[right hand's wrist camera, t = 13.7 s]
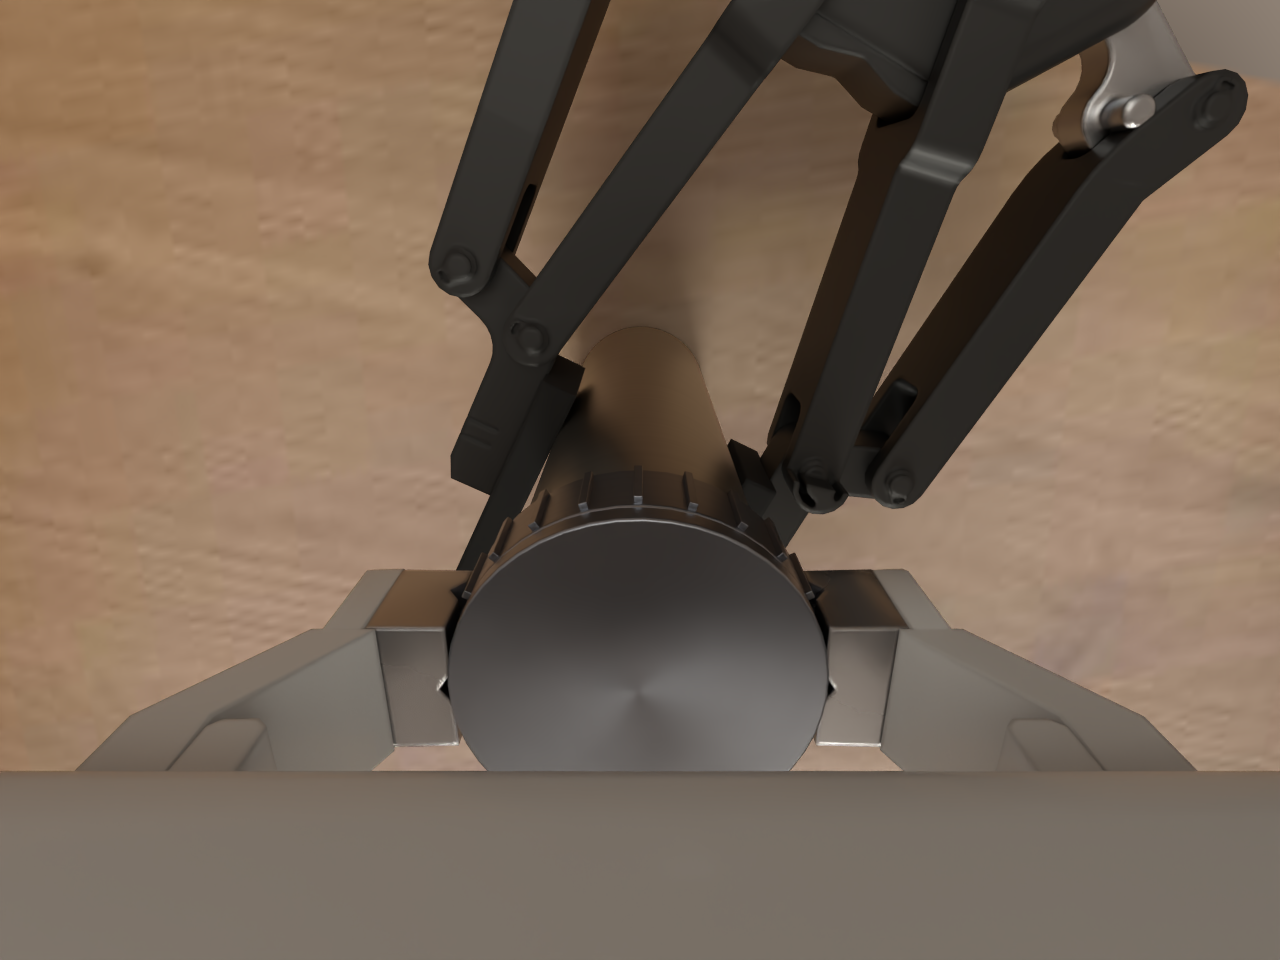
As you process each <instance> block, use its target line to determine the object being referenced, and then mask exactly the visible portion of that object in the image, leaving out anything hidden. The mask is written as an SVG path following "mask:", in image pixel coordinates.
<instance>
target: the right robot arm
mask: <svg viewBox="0 0 1280 960" xmlns="http://www.w3.org/2000/svg"><path fill="white" fill-rule="evenodd" d="M472 573H473V571H455V570H405V569H379V570H368V571H366V573H365V574H364V575H363V576H362V578H361V579H360V580H359V582H358V583H357V584H356V586H355V587H354V588H353V590H352V591H351V592H350V594H349V595H348V596H347V598H346V599H345V600H344V601H343V603H342V604H341V605H340V607H339V608H338V609H337V611H336V612H335V613H334V615H333V616H332V617H331V619H330V620H329V621H328V623H327V624H326V625H325V627H324V628H323V629H311V630H308V631H306V632H304V633H302V634H300V635H298V636H296V637H294V638H292V639H290V640H288V641H285V642H283V643H281V644H279V645H277V646H275V647H273V648H271V649H269V650H267V651H265V652H262V653H260V654H258V655H256V656H254V657H252V658H250V659H248V660H246V661H244V662H242V663H239V664H237V665H235V666H233V667H231V668H229V669H227V670H225V671H223V672H221V673H219V674H216V675H214V676H212V677H210V678H208V679H206V680H204V681H202V682H200V683H198V684H195V685H193V686H191V687H189V688H187V689H185V690H183V691H181V692H179V693H177V694H175V695H172V696H170V697H168V698H166V699H164V700H162V701H160V702H158V703H156V704H154V705H152V706H149V707H147V708H145V709H143V710H141V711H139V712H137V713H135V714H133V715H131V716H129V717H128V718H127V719H126V720H125V721H124V722H123V723H122V724H121V725H120V726H119V727H118V728H117V729H116V730H115V731H114V732H113V733H112V734H111V735H110V736H109V737H108V738H107V739H106V740H105V741H104V742H103V743H102V744H101V745H100V746H99V747H98V748H97V749H96V750H95V751H94V752H93V753H92V754H91V755H90V756H89V757H88V758H87V759H86V760H85V761H84V762H83V763H82V764H81V765H80V766H79V767H78V768H77V769H76V770H75V771H0V960H1280V771H1197V770H1196V769H1195V768H1194V767H1193V766H1192V765H1191V764H1190V763H1189V762H1188V761H1187V760H1186V759H1185V758H1184V757H1183V756H1182V755H1181V754H1180V753H1179V752H1178V751H1177V750H1176V749H1175V748H1174V746H1173V745H1172V744H1171V743H1170V742H1169V741H1168V740H1167V739H1166V738H1165V737H1164V736H1163V735H1162V734H1161V733H1160V732H1159V731H1158V730H1157V729H1156V728H1155V727H1154V726H1153V725H1152V724H1151V723H1150V722H1149V721H1148V720H1147V719H1146V718H1145V717H1144V716H1142V715H1140V714H1137V713H1135V712H1133V711H1131V710H1129V709H1127V708H1125V707H1123V706H1121V705H1119V704H1117V703H1115V702H1113V701H1111V700H1108V699H1106V698H1104V697H1102V696H1100V695H1098V694H1096V693H1094V692H1092V691H1090V690H1088V689H1086V688H1084V687H1082V686H1080V685H1077V684H1075V683H1073V682H1071V681H1069V680H1067V679H1065V678H1063V677H1061V676H1059V675H1057V674H1055V673H1053V672H1051V671H1048V670H1046V669H1044V668H1042V667H1040V666H1038V665H1036V664H1034V663H1032V662H1030V661H1028V660H1026V659H1024V658H1022V657H1020V656H1017V655H1015V654H1013V653H1011V652H1009V651H1007V650H1005V649H1003V648H1001V647H999V646H997V645H995V644H993V643H991V642H988V641H986V640H984V639H982V638H980V637H978V636H976V635H974V634H972V633H970V632H968V631H966V630H964V629H951V628H950V626H949V625H948V624H947V622H946V621H945V620H944V618H943V617H942V616H941V614H940V613H939V612H938V610H937V609H936V608H935V606H934V605H933V604H932V602H931V601H930V600H929V598H928V597H927V596H926V594H925V593H924V592H923V590H922V589H921V588H920V586H919V585H918V584H917V582H916V581H915V579H914V578H913V577H912V575H911V574H910V573H909V571H906V570H904V569H884V570H871V569H869V570H827V571H804V574H805V576H806V578H807V580H808V583H809V585H810V587H811V589H812V592H813V594H814V596H815V598H813V599H810V600H809V602H810V605H811V606H813V607H815V616H816V619H817V621H818V623H819V626H820V628H821V630H822V633H823V637H824V641H825V645H826V649H827V654H828V666H829V683H828V695H827V699H826V703H825V707H824V712H823V716H822V718H821V721H820V723H819V726H818V728H817V730H816V733H815V735H814V740H815V743H816V745H823V746H860V747H880V750H881V751H882V752H883V753H884V754H885V755H886V756H887V757H889V758H890V759H891V760H892V761H893V762H894V763H895V764H896V765H898V766H899V767H900V768H901V769H902V770H903V771H372V770H373V769H374V768H375V767H376V766H377V765H378V764H380V763H381V762H382V761H383V760H384V759H385V758H386V757H387V756H389V755H390V754H391V753H392V752H393V751H394V747H413V746H449V745H459V743H460V740H461V737H462V733H461V731H460V729H459V727H458V725H457V722H456V719H455V716H454V713H453V710H452V707H451V702H450V696H449V690H448V666H447V664H448V658H449V651H450V645H451V641H452V638H453V635H454V632H455V629H456V626H457V623H458V620H459V618H460V611H461V609H462V607H463V605H465V604H466V602H467V599H464V598H462V595H463V592H464V590H465V588H466V586H467V584H468V582H469V579H470V577H471V575H472Z"/></svg>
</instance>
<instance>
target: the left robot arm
mask: <svg viewBox="0 0 1280 960" xmlns="http://www.w3.org/2000/svg"><path fill="white" fill-rule="evenodd" d="M609 3H610V0H513V3H512V6H511V9H510V12H509V15H508V18H507V21H506V24H505V27H504V30H503V33H502V36H501V39H500V42H499V45H498V48H497V51H496V54H495V57H494V60H493V63H492V66H491V69H490V72H489V75H488V78H487V81H486V84H485V87H484V90H483V93H482V96H481V99H480V102H479V105H478V109H477V112H476V115H475V118H474V121H473V124H472V127H471V130H470V133H469V136H468V139H467V142H466V145H465V148H464V151H463V154H462V157H461V160H460V163H459V166H458V169H457V172H456V175H455V178H454V181H453V184H452V187H451V190H450V193H449V196H448V199H447V202H446V205H445V208H444V211H443V214H442V217H441V220H440V223H439V226H438V229H437V232H436V235H435V238H434V241H433V244H432V247H431V250H430V256H429V264H428V265H429V269H430V272H431V276H432V278H433V280H434V281H435V282H436V284H437V285H438V287H439V288H441V289H442V290H443V291H445V292H446V293H448V294H449V295H453V296H457V297H459V298H460V299H461V300H462V301H463V302H464V303H465V304H466V305H467V306H468V307H469V308H470V309H471V310H472V311H473V312H474V313H475V314H476V315H477V316H478V317H479V318H480V319H481V320H482V322H483V323H484V324H485V325H486V327H487V329H488V331H489V333H490V335H491V339H492V343H493V354H492V358H491V361H490V364H489V366H488V369H487V371H486V373H485V376H484V378H483V380H482V383H481V385H480V388H479V390H478V392H477V395H476V397H475V399H474V402H473V404H472V406H471V409H470V411H469V413H468V416H467V418H466V420H465V423H464V425H463V428H462V430H461V433H460V435H459V437H458V439H457V442H456V444H455V446H454V449H453V451H452V453H451V478H452V479H454V480H457V481H459V482H461V483H463V484H466V485H468V486H470V487H473V488H475V489H477V490H479V491H482V492H484V493H486V494H488V495H490V497H489V499H488V501H487V504H486V506H485V508H484V510H483V512H482V515H481V517H480V519H479V521H478V523H477V526H476V528H475V530H474V532H473V534H472V536H471V539H470V541H469V543H468V545H467V547H466V550H465V552H464V554H463V556H462V558H461V560H460V563H459V565H458V567H457V569H456V571H474V568H475V566H476V564H477V562H478V560H479V557H480V555H481V553H482V552H483V553H485V554H487V555H488V553H489V551H490V549H491V547H492V546H493V544H494V543H495V540H496V538H497V536H498V533H499V531H500V529H501V526H502V524H503V522H504V521H505V520H506V518H507V517H509V518H511V519H512V520H514V519H515V517H516V516H517V515H518V514H520V513H521V511H522V509H523V507H524V505H525V503H526V501H527V499H528V496H529V494H530V492H531V490H532V488H533V486H534V484H535V482H536V480H537V478H538V476H539V474H540V471H541V469H542V467H543V465H544V463H545V461H546V459H547V457H548V455H549V453H550V451H551V448H552V446H553V444H554V441H555V439H556V438H557V436H558V434H559V432H560V430H561V428H562V426H563V423H564V421H565V419H566V417H567V415H568V413H569V411H570V409H571V407H572V405H573V403H574V401H575V398H576V396H577V393H578V390H579V387H580V384H581V380H582V377H583V374H584V371H585V368H584V367H582V366H580V365H578V364H576V363H574V362H572V361H570V360H568V359H566V358H564V357H562V356H560V355H559V352H560V350H561V349H562V348H563V346H564V345H565V344H566V342H567V341H568V340H569V338H570V337H571V336H572V334H573V333H574V332H575V330H576V329H577V328H578V326H579V325H580V324H581V322H582V321H583V320H584V318H585V317H586V316H587V314H588V313H589V312H590V310H591V309H592V308H593V306H594V305H595V304H596V302H597V301H598V300H599V298H600V297H601V296H602V294H603V293H604V292H605V290H606V289H607V288H608V286H609V285H610V284H611V282H612V281H613V280H614V278H615V277H616V276H617V274H618V273H619V272H620V270H621V269H622V268H623V266H624V265H625V264H626V262H627V261H628V260H629V258H630V257H631V256H632V254H633V253H634V252H635V250H636V249H637V248H638V246H639V245H640V244H641V242H642V241H643V240H644V238H645V237H646V236H647V234H648V233H649V232H650V230H651V229H652V228H653V226H654V225H655V224H656V222H657V221H658V220H659V218H660V217H661V216H662V214H663V213H664V212H665V211H666V209H667V208H668V207H669V205H670V204H671V203H672V201H673V200H674V199H675V197H676V196H677V195H678V193H679V192H680V191H681V189H682V188H683V187H684V185H685V184H686V183H687V181H688V180H689V179H690V177H691V176H692V175H693V173H694V172H695V171H696V169H697V168H698V167H699V165H700V164H701V163H702V161H703V160H704V159H705V157H706V156H707V155H708V153H709V152H710V151H711V149H712V148H713V147H714V145H715V144H716V143H717V141H718V140H719V139H720V137H721V136H722V135H723V133H724V132H725V131H726V129H727V128H728V127H729V125H730V124H731V123H732V121H733V120H734V119H735V117H736V116H737V115H738V113H739V112H740V111H741V109H742V108H743V107H744V105H745V104H746V103H747V101H748V100H749V99H750V97H751V96H752V95H753V93H754V92H755V91H756V89H757V88H758V87H759V85H760V84H761V83H762V82H763V80H764V79H765V78H766V77H767V75H768V74H769V73H770V72H771V71H772V69H773V68H774V67H775V65H776V64H777V63H778V62H779V60H780V59H782V60H784V61H786V62H787V63H789V64H791V65H792V66H794V67H796V68H799V69H803V70H807V71H812V72H816V73H820V74H824V75H828V76H832V77H834V78H836V79H837V80H838V81H839V82H840V83H841V85H842V86H843V87H844V88H845V89H846V90H847V91H848V92H849V93H850V95H851V96H852V97H853V98H854V99H855V100H856V101H857V102H858V104H859V105H860V106H861V107H862V108H864V109H866V110H868V111H869V112H871V113H873V114H872V117H871V120H870V123H869V126H868V129H867V132H866V135H865V138H864V141H863V143H862V147H861V150H860V153H859V159H858V168H859V170H858V176H857V179H856V182H855V185H854V188H853V191H852V194H851V196H850V199H849V202H848V205H847V208H846V211H845V214H844V217H843V220H842V222H841V225H840V228H839V231H838V234H837V237H836V240H835V243H834V245H833V248H832V251H831V254H830V257H829V260H828V263H827V266H826V269H825V271H824V274H823V277H822V280H821V283H820V286H819V289H818V292H817V294H816V297H815V300H814V303H813V306H812V309H811V312H810V315H809V318H808V320H807V323H806V326H805V329H804V332H803V335H802V338H801V341H800V343H799V346H798V349H797V352H796V355H795V358H794V361H793V364H792V367H791V369H790V372H789V375H788V378H787V381H786V384H785V387H784V390H783V392H782V395H781V398H780V401H779V404H778V407H777V410H776V413H775V416H774V418H773V421H772V424H771V427H770V430H769V433H768V438H767V445H768V446H767V448H766V449H765V451H764V453H763V454H762V456H761V458H760V457H759V455H758V453H757V451H755V450H753V449H751V448H749V447H747V446H745V445H743V444H741V443H738V442H736V441H734V440H732V439H731V440H730V442H729V443H728V445H727V447H728V450H729V453H730V455H731V458H732V461H733V464H734V467H735V469H736V472H737V475H738V478H739V481H740V484H741V486H742V489H743V492H744V495H745V498H746V501H747V503H748V506H749V507H750V508H751V509H752V510H753V511H754V512H756V513H757V514H758V515H759V516H760V517H761V518H762V519H763V520H765V519H767V518H768V517H769V518H770V519H771V520H772V521H773V522H774V525H775V527H776V530H777V532H778V534H779V537H780V539H781V542H782V543H783V545H784V547H785V548H786V547H787V545H788V543H789V542H790V540H791V539H792V537H793V536H794V534H795V533H796V531H797V530H798V528H799V526H800V525H801V523H802V522H803V520H804V519H805V517H806V516H807V514H808V513H809V512H810V513H812V514H825V513H829V512H832V511H835V510H836V509H837V508H839V507H840V506H841V505H843V504H844V502H845V501H846V499H847V498H848V496H853V497H863V498H872V499H875V500H877V501H878V502H879V503H880V504H881V505H882V506H885V507H888V508H892V509H896V508H904V507H906V506H909V505H911V504H913V503H914V502H915V501H916V500H917V499H919V498H920V497H921V496H922V494H923V493H924V492H925V490H926V489H927V488H928V486H929V485H930V484H931V482H932V481H933V480H934V478H935V477H936V476H937V474H938V473H939V472H940V470H941V469H942V468H943V466H944V465H945V464H946V462H947V461H948V460H949V458H950V457H951V456H952V454H953V453H954V452H955V450H956V449H957V448H958V446H959V445H960V444H961V442H962V441H963V440H964V438H965V437H966V436H967V434H968V433H969V432H970V430H971V429H972V428H973V426H974V425H975V424H976V422H977V421H978V420H979V418H980V417H981V416H982V414H983V413H984V412H985V410H986V409H987V408H988V406H989V405H990V404H991V402H992V401H993V400H994V398H995V397H996V396H997V394H998V393H999V392H1000V390H1001V389H1002V388H1003V386H1004V385H1005V384H1006V382H1007V381H1008V380H1009V378H1010V377H1011V376H1012V374H1013V373H1014V372H1015V370H1016V369H1017V368H1018V366H1019V365H1020V364H1021V362H1022V361H1023V360H1024V358H1025V357H1026V356H1027V354H1028V353H1029V352H1030V350H1031V349H1032V348H1033V346H1034V345H1035V344H1036V342H1037V341H1038V340H1039V338H1040V337H1041V336H1042V334H1043V333H1044V332H1045V330H1046V329H1047V328H1048V326H1049V325H1050V324H1051V322H1052V321H1053V320H1054V318H1055V317H1056V316H1057V314H1058V313H1059V312H1060V310H1061V309H1062V308H1063V306H1064V305H1065V304H1066V302H1067V301H1068V300H1069V298H1070V297H1071V296H1072V294H1073V293H1074V292H1075V290H1076V289H1077V288H1078V286H1079V285H1080V284H1081V282H1082V281H1083V280H1084V278H1085V277H1086V276H1087V274H1088V273H1089V272H1090V270H1091V269H1092V268H1093V266H1094V265H1095V264H1096V262H1097V261H1098V260H1099V258H1100V257H1101V256H1102V254H1103V253H1104V252H1105V250H1106V249H1107V248H1108V246H1109V245H1110V244H1111V242H1112V241H1113V240H1114V238H1115V237H1116V236H1117V234H1118V233H1119V232H1120V230H1121V229H1122V228H1123V226H1124V225H1125V224H1126V222H1127V221H1128V220H1129V218H1130V217H1131V216H1132V214H1133V213H1134V212H1135V210H1136V209H1137V208H1138V206H1139V205H1140V204H1141V202H1142V201H1143V200H1144V199H1145V198H1147V197H1148V196H1149V195H1151V194H1152V193H1153V192H1155V191H1156V190H1157V189H1158V188H1160V187H1161V186H1162V185H1164V184H1165V183H1166V182H1167V181H1169V180H1170V179H1171V178H1173V177H1174V176H1175V175H1177V174H1178V173H1179V172H1180V171H1182V170H1183V169H1184V168H1186V167H1187V166H1188V165H1189V164H1191V163H1192V162H1193V161H1195V160H1196V159H1197V158H1199V157H1200V156H1201V155H1202V154H1204V153H1205V152H1206V151H1208V150H1209V149H1210V148H1211V147H1213V146H1214V145H1215V144H1217V143H1218V142H1219V141H1221V140H1222V139H1223V138H1224V137H1226V136H1227V135H1228V134H1229V133H1230V132H1231V131H1232V130H1233V129H1234V128H1235V127H1236V126H1237V125H1238V124H1239V122H1240V120H1241V118H1242V116H1243V114H1244V112H1245V110H1246V105H1247V99H1248V92H1247V88H1246V84H1245V81H1244V80H1243V79H1242V78H1241V77H1240V76H1239V75H1238V73H1236V72H1233V71H1229V70H1226V69H1223V70H1217V71H1211V72H1206V73H1202V74H1198V75H1196V74H1195V73H1194V72H1193V70H1192V68H1191V66H1190V64H1189V62H1188V60H1187V58H1186V56H1185V54H1184V52H1183V51H1182V49H1181V47H1180V45H1179V43H1178V41H1177V39H1176V37H1175V35H1174V33H1173V31H1172V29H1171V27H1170V25H1169V23H1168V22H1167V19H1166V17H1165V16H1164V14H1163V12H1162V10H1161V8H1160V6H1159V4H1158V2H1157V0H732V1H731V2H730V3H729V5H728V6H727V8H726V9H725V11H724V12H723V14H722V15H721V17H720V18H719V20H718V21H717V23H716V24H715V26H714V28H713V29H712V31H711V32H710V34H709V35H708V37H707V38H706V40H705V41H704V43H703V44H702V45H701V47H700V48H699V50H698V51H697V53H696V54H695V55H694V57H693V58H692V60H691V61H690V62H689V64H688V65H687V67H686V68H685V69H684V71H683V72H682V74H681V75H680V76H679V78H678V79H677V81H676V82H675V83H674V85H673V86H672V88H671V89H670V90H669V92H668V93H667V95H666V96H665V98H664V99H663V100H662V102H661V103H660V105H659V106H658V107H657V109H656V110H655V112H654V113H653V114H652V116H651V117H650V119H649V120H648V121H647V123H646V124H645V126H644V127H643V128H642V130H641V131H640V133H639V134H638V135H637V137H636V138H635V140H634V141H633V143H632V144H631V145H630V147H629V148H628V150H627V151H626V152H625V154H624V155H623V157H622V158H621V159H620V161H619V162H618V164H617V165H616V166H615V168H614V169H613V171H612V172H611V173H610V175H609V176H608V178H607V179H606V181H605V182H604V183H603V185H602V186H601V188H600V189H599V190H598V192H597V193H596V195H595V196H594V197H593V199H592V200H591V202H590V203H589V204H588V206H587V207H586V209H585V210H584V211H583V213H582V214H581V216H580V217H579V218H578V220H577V221H576V223H575V224H574V226H573V227H572V228H571V230H570V231H569V233H568V234H567V235H566V237H565V238H564V240H563V241H562V242H561V244H560V245H559V247H558V248H557V249H556V251H555V252H554V254H553V255H552V256H551V258H550V259H549V261H548V262H547V264H546V265H545V266H544V268H543V269H542V271H541V272H540V273H539V275H538V276H537V278H536V276H535V275H534V274H533V273H532V272H531V271H530V270H529V269H528V268H527V267H526V266H525V265H524V264H523V263H522V262H521V261H520V260H519V259H518V258H517V257H516V256H515V254H516V251H517V248H518V246H519V243H520V240H521V238H522V235H523V232H524V230H525V227H526V224H527V222H528V219H529V216H530V214H531V211H532V208H533V206H534V203H535V200H536V198H537V195H538V192H539V190H540V187H541V184H542V182H543V179H544V176H545V174H546V171H547V168H548V166H549V163H550V160H551V158H552V155H553V152H554V150H555V147H556V144H557V142H558V139H559V136H560V134H561V131H562V128H563V126H564V123H565V120H566V118H567V115H568V112H569V110H570V107H571V104H572V102H573V99H574V96H575V93H576V91H577V88H578V85H579V83H580V80H581V77H582V75H583V72H584V69H585V67H586V64H587V61H588V59H589V56H590V53H591V51H592V48H593V45H594V43H595V40H596V37H597V35H598V32H599V29H600V27H601V24H602V21H603V19H604V16H605V13H606V11H607V8H608V5H609ZM1077 54H1079V55H1080V58H1081V64H1082V72H1081V77H1080V81H1079V83H1078V85H1077V88H1076V90H1075V91H1074V93H1073V94H1072V95H1071V97H1070V98H1069V99H1068V101H1067V102H1066V103H1065V104H1064V106H1063V107H1062V109H1061V111H1060V113H1059V114H1058V115H1057V116H1056V118H1055V120H1054V122H1053V127H1052V131H1053V134H1054V136H1055V137H1056V138H1057V139H1058V140H1059V143H1058V144H1057V145H1055V146H1054V147H1053V148H1052V149H1051V150H1050V151H1049V152H1048V153H1047V154H1045V155H1044V156H1043V157H1042V159H1041V160H1040V161H1039V162H1038V163H1037V164H1036V165H1035V166H1034V167H1033V168H1032V169H1031V171H1030V172H1029V173H1028V174H1027V175H1026V176H1025V178H1024V179H1023V180H1022V182H1021V183H1020V184H1019V186H1018V187H1017V188H1016V190H1015V191H1014V192H1013V194H1012V195H1011V196H1010V198H1009V199H1008V201H1007V202H1006V204H1005V205H1004V207H1003V208H1002V210H1001V211H1000V212H999V214H998V215H997V217H996V218H995V220H994V221H993V223H992V224H991V226H990V227H989V229H988V230H987V231H986V233H985V234H984V236H983V237H982V239H981V240H980V242H979V243H978V245H977V246H976V248H975V249H974V250H973V252H972V253H971V255H970V256H969V258H968V259H967V261H966V262H965V264H964V265H963V267H962V268H961V269H960V271H959V272H958V274H957V275H956V277H955V278H954V280H953V281H952V283H951V284H950V286H949V287H948V289H947V290H946V291H945V293H944V294H943V296H942V297H941V299H940V300H939V302H938V303H937V305H936V306H935V308H934V309H933V310H932V312H931V313H930V315H929V316H928V318H927V319H926V321H925V322H924V324H923V325H922V327H921V328H920V329H919V331H918V332H917V334H916V335H915V337H914V338H913V340H912V341H911V343H910V344H909V346H908V347H907V348H906V350H905V351H904V353H903V354H902V356H901V357H900V359H899V360H898V362H897V363H896V365H895V366H894V367H893V369H892V370H891V372H890V373H889V375H888V376H887V378H886V379H885V381H884V382H883V384H882V385H881V386H880V388H879V389H878V391H877V392H876V394H875V395H874V393H875V391H876V388H877V386H878V383H879V381H880V378H881V376H882V373H883V371H884V368H885V366H886V363H887V361H888V358H889V356H890V353H891V351H892V348H893V345H894V343H895V340H896V338H897V335H898V333H899V330H900V328H901V325H902V323H903V320H904V318H905V315H906V313H907V310H908V308H909V305H910V303H911V300H912V298H913V295H914V293H915V290H916V288H917V285H918V282H919V280H920V277H921V275H922V272H923V270H924V267H925V265H926V262H927V260H928V257H929V255H930V252H931V250H932V247H933V245H934V242H935V240H936V237H937V235H938V232H939V230H940V227H941V225H942V222H943V220H944V217H945V214H946V212H947V209H948V207H949V204H950V202H951V199H952V197H953V194H954V192H955V190H956V188H957V186H958V185H959V183H960V182H961V181H962V180H963V179H964V177H965V176H966V175H967V174H968V173H969V172H970V171H971V170H972V169H973V167H974V165H975V164H976V162H977V161H978V159H979V157H980V155H981V153H982V151H983V148H984V146H985V143H986V141H987V139H988V136H989V134H990V131H991V129H992V126H993V124H994V121H995V119H996V116H997V114H998V111H999V109H1000V106H1001V104H1002V101H1003V99H1004V96H1005V94H1006V92H1008V91H1010V90H1012V89H1014V88H1015V87H1017V86H1019V85H1021V84H1023V83H1025V82H1027V81H1028V80H1030V79H1032V78H1034V77H1036V76H1038V75H1040V74H1041V73H1043V72H1045V71H1047V70H1049V69H1051V68H1053V67H1054V66H1056V65H1058V64H1060V63H1062V62H1064V61H1066V60H1068V59H1069V58H1071V57H1073V56H1075V55H1077ZM873 396H874V397H873Z"/></svg>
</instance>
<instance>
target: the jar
mask: <svg viewBox="0 0 1280 960" xmlns="http://www.w3.org/2000/svg"><path fill="white" fill-rule="evenodd" d="M582 367H584V368H585V371H584V374H583V377H582V380H581V384H580V387H579V390H578V393H577V396H576V398H575V401H574V403H573V405H572V407H571V409H570V411H569V413H568V415H567V417H566V419H565V421H564V423H563V426H562V428H561V430H560V432H559V434H558V436H557V438H556V439H555V441H554V444H553V446H552V448H551V451H550V454H549V456H548V459H547V462H546V464H545V467H544V470H543V473H542V475H541V478H540V481H539V483H538V486H537V489H536V491H535V494H534V497H533V499H532V502H531V504H532V503H533V502H535V501H536V500H537V498H538V495H539V492H541V491H543V490H544V489H547V491H548V492H549V493H550V492H551V491H553V490H555V489H557V488H560V487H562V486H564V485H567V484H569V483H571V482H574V481H576V480H580V479H583V477H584V473H586V472H590V471H592V472H593V475H598V474H604V473H610V472H617V471H633V470H634V466H635V465H642V466H643V470H648V471H659V472H668V473H673V474H678V475H682V476H683V475H684V472H685V471H687V472H691V473H692V474H693V478H694V479H696V480H699V481H702V482H705V483H708V484H711V485H713V486H715V487H717V488H719V489H721V490H723V491H725V492H727V493H728V492H729V491H730V489H732V490H734V491H736V492H737V493H738V496H739V499H740V501H741V502H743V503H744V504H746V505H747V506H748V503H747V501H746V498H745V495H744V492H743V489H742V486H741V484H740V481H739V478H738V475H737V472H736V469H735V467H734V464H733V461H732V458H731V455H730V453H729V450H728V447H727V444H726V441H725V438H724V436H723V433H722V430H721V427H720V424H719V421H718V419H717V416H716V413H715V410H714V407H713V404H712V402H711V399H710V396H709V393H708V390H707V388H706V385H705V382H704V379H703V376H702V373H701V371H700V368H699V365H698V363H697V361H696V359H695V357H694V355H693V354H692V353H691V351H690V350H689V349H688V348H687V347H686V346H685V344H684V343H682V342H681V341H680V340H679V339H677V338H676V337H674V336H673V335H671V334H669V333H667V332H665V331H662V330H659V329H655V328H650V327H631V328H626V329H622V330H619V331H617V332H614V333H612V334H610V335H608V336H607V337H605V338H604V339H603V340H601V341H600V342H599V343H598V344H597V345H596V346H595V347H594V348H593V349H592V350H591V351H590V353H589V354H588V356H587V357H586V359H585V361H584V363H583V366H582Z"/></svg>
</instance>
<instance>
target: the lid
mask: <svg viewBox="0 0 1280 960" xmlns="http://www.w3.org/2000/svg"><path fill="white" fill-rule="evenodd" d="M462 598H464V599H467V602H466V604H465V605H463V607H462V609H461V611H460V618H459V620H458V623H457V626H456V629H455V632H454V635H453V638H452V641H451V645H450V651H449V658H448V664H447V666H448V690H449V696H450V702H451V707H452V710H453V713H454V716H455V719H456V722H457V725H458V727H459V729H460V731H461V733H462V735H463V737H464V739H465V741H466V743H467V745H468V747H469V748H470V749H471V751H472V752H473V754H474V755H475V757H476V758H477V760H478V761H479V762H480V763H481V764H482V765H483V767H484V768H485V769H486V770H487V771H790V770H791V769H792V768H793V766H794V765H795V764H796V763H797V761H798V760H799V759H800V757H801V756H802V755H803V754H804V752H805V751H806V749H807V747H808V745H809V744H810V742H811V740H812V739H813V737H814V735H815V733H816V730H817V728H818V726H819V723H820V721H821V718H822V716H823V712H824V707H825V703H826V699H827V695H828V683H829V666H828V654H827V649H826V645H825V641H824V637H823V633H822V630H821V628H820V626H819V623H818V621H817V619H816V616H815V607H813V606H811V605H810V602H809V600H810V599H813V598H815V596H814V594H813V592H812V589H811V587H810V585H809V583H808V580H807V578H806V576H805V574H804V571H803V569H802V567H801V565H800V562H799V560H798V558H797V556H796V554H795V553H792V554H790V555H789V553H788V552H787V550H786V548H785V547H784V545H783V543H782V542H781V539H780V537H779V534H778V532H777V530H776V527H775V525H774V522H773V521H772V520H771V519H770V518H769V517H768V518H767V519H765V520H763V519H762V518H761V517H760V516H759V515H758V514H757V513H756V512H754V511H753V510H752V509H751V508H750V507H749V506H747V505H746V504H744V503H743V502H741V501H740V499H739V496H738V493H737V492H736V491H734V490H732V489H730V491H729V492H728V493H727V492H725V491H723V490H721V489H719V488H717V487H715V486H713V485H711V484H708V483H705V482H702V481H699V480H696V479H694V478H693V474H692V473H691V472H687V471H685V472H684V475H683V476H682V475H678V474H673V473H668V472H659V471H648V470H643V466H642V465H635V466H634V470H633V471H617V472H610V473H604V474H598V475H593V472H592V471H590V472H586V473H584V477H583V479H580V480H576V481H574V482H571V483H569V484H567V485H564V486H562V487H560V488H557V489H555V490H553V491H551V492H550V493H549V492H548V491H547V489H544V490H543V491H541V492H539V495H538V498H537V500H536V501H535V502H533V503H532V504H531V505H530V506H528V507H527V508H526V509H525V510H523V511H522V512H521V513H520V514H518V515H517V516H516V517H515V519H514V520H512V519H511V518H509V517H507V518H506V520H505V521H504V522H503V524H502V526H501V529H500V531H499V533H498V536H497V538H496V540H495V543H494V544H493V546H492V547H491V549H490V551H489V553H488V555H487V554H485V553H483V552H482V553H481V555H480V557H479V560H478V562H477V564H476V566H475V568H474V571H473V573H472V575H471V577H470V579H469V582H468V584H467V586H466V588H465V590H464V592H463V595H462Z"/></svg>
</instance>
